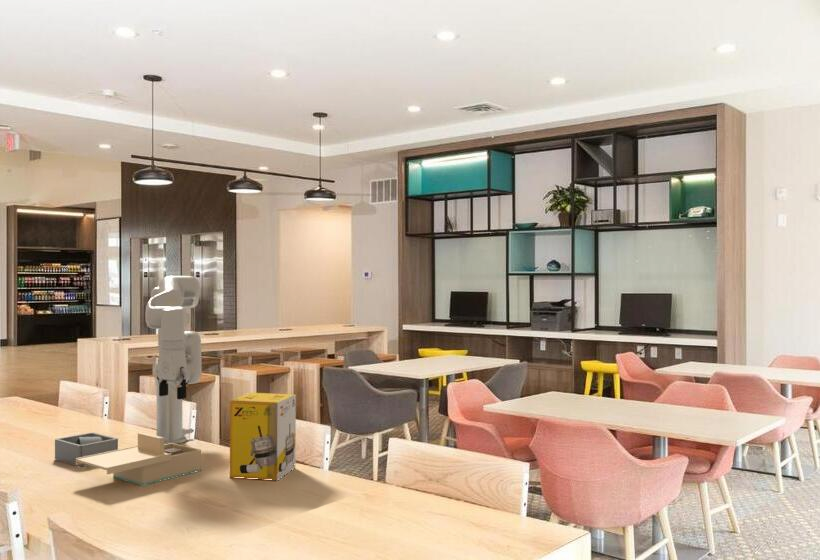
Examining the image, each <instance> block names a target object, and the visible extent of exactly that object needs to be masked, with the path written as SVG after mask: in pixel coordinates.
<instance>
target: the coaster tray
mask: <svg viewBox="0 0 820 560" xmlns="http://www.w3.org/2000/svg"><path fill="white" fill-rule="evenodd" d="M79 437H101V438H102V439H103V441H100V442H95V443H89V444H84V445H78V444H76V442H77V439H78V438H79ZM114 450H119V438H118V437H113V436H109V435H106V434H101V433H97V432H88V433H81V434H76V435H69V436H65V437H60V438H55V439H54V460H55V459H56V461H59V462H61V463H62V462H63V463H66V464H68V465H71V466H75V467H78V466H79V467H85V465H86V466H88V465H87V464H79V465H76V458H79V457H84V456H89V455H94V454H99V453H104V452H109V451H114Z"/></svg>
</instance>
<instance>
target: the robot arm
mask: <svg viewBox="0 0 820 560" xmlns="http://www.w3.org/2000/svg"><path fill="white" fill-rule="evenodd" d="M200 294H201V285H200V281H199V280H198V278H197V277H195V276H193V275H168V276H165V277H163V278H162V279H161V280H160V281H159V283H158V286H157V287H154V288H153V289H151V291H150V299H149V300H148V302H147V303H146V306H145V316H144V317H145V323H146V326H147V327H148V328H149V329H153V330H157V340H158V341H157V347H158V359H157V363H155V365H154V369H153V371H154V372H153V374H154V379H155V390H156V392H155V393H156V435H155V436H159V437H164V444H169V443H175V444H179V445H180V444H182V443H185V442H186V441H187V437H186V435H189V434H192V433H193V432H194V429H193V428H192V427H191V428H187V429H186V428H183V400H185V399H187V387H188V385H191V384H192V385H193V384H197V383H199V382H200V381H201V380H202V366H203V365H202V340H201V336H200V334H199V333H198V332H196V331H194V330H188V331H187V330H185V328H186V327H187V326H188V324H190V320H191V319H190V318H191V317H190V311H189V309H191V308H195V307H197V306H198V304H199V301H200ZM186 356H187V357H188V358H186ZM176 385H177V386H176Z"/></svg>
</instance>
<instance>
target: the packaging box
mask: <svg viewBox="0 0 820 560" xmlns="http://www.w3.org/2000/svg"><path fill="white" fill-rule="evenodd" d="M296 397H297V396H296V394H294V393H293V394H292V393H289V394H288V393H270V392H269V393H268V392H248V393H245V394H243V395H241V396H238V397H236V398H233V399H230V400H229V478H230V477H244V478H258V479H272V480H278V479H280V478H281V477H283V476H284V475H285V474H287V473H288V472H290V471H291V470H292V469H294V468H295V469H296V436H297V435H296V431H297V430H296V429H297V428H296V427H297V426H296V423H297V422H296V415H297V414H296V410H297V408H296V407H297V403H296V402H297V400H296V399H297V398H296ZM294 464H295V465H294ZM295 469H294V470H295ZM292 471H293V470H292ZM292 471H291V472H292ZM291 472H290V473H291ZM288 474H289V473H288ZM288 474H287V475H288ZM285 476H286V475H285ZM285 476H284V477H285ZM284 477H283V478H284ZM281 479H282V478H281ZM281 479H280V480H281Z"/></svg>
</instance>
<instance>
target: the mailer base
mask: <svg viewBox="0 0 820 560" xmlns="http://www.w3.org/2000/svg"><path fill="white" fill-rule="evenodd" d="M171 448H177V449H181V450H182V454H178V455H173V456H171V460H168V461H164V462H160V463H155V464H151V465H147V466H142V467H138V468H134V469H129V470H125V471H120V472H116V473H112V475H113V476H112V477H113V478H115V479H120V480H122V479H123V480H122V481H127V482H129V481H130V482H129V483H132V482H133V483H132V484H135V485H139V484H140V486H142V485H143V486H146V485H145V484H147V485H150V484H149V483H151V484H154V483H153V482H155V483H158V482H157V481H159V482H161V481H160V480H163V481H165V480H164V479H167V480H169V479H168V478H171V479H173V478H172V477H175V478H177V477H176V476H179V477H181V476H180V475H183V474H187V473H191V472H195V471H199V470H201V471H202V449H199V448H195V447H191V446H186V445H182V444H180V443H179V444H175V443H169V444H164V450H167V449H171ZM199 472H200V471H199ZM195 473H196V472H195ZM191 474H192V473H191ZM187 475H188V474H187ZM183 476H184V475H183Z"/></svg>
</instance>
